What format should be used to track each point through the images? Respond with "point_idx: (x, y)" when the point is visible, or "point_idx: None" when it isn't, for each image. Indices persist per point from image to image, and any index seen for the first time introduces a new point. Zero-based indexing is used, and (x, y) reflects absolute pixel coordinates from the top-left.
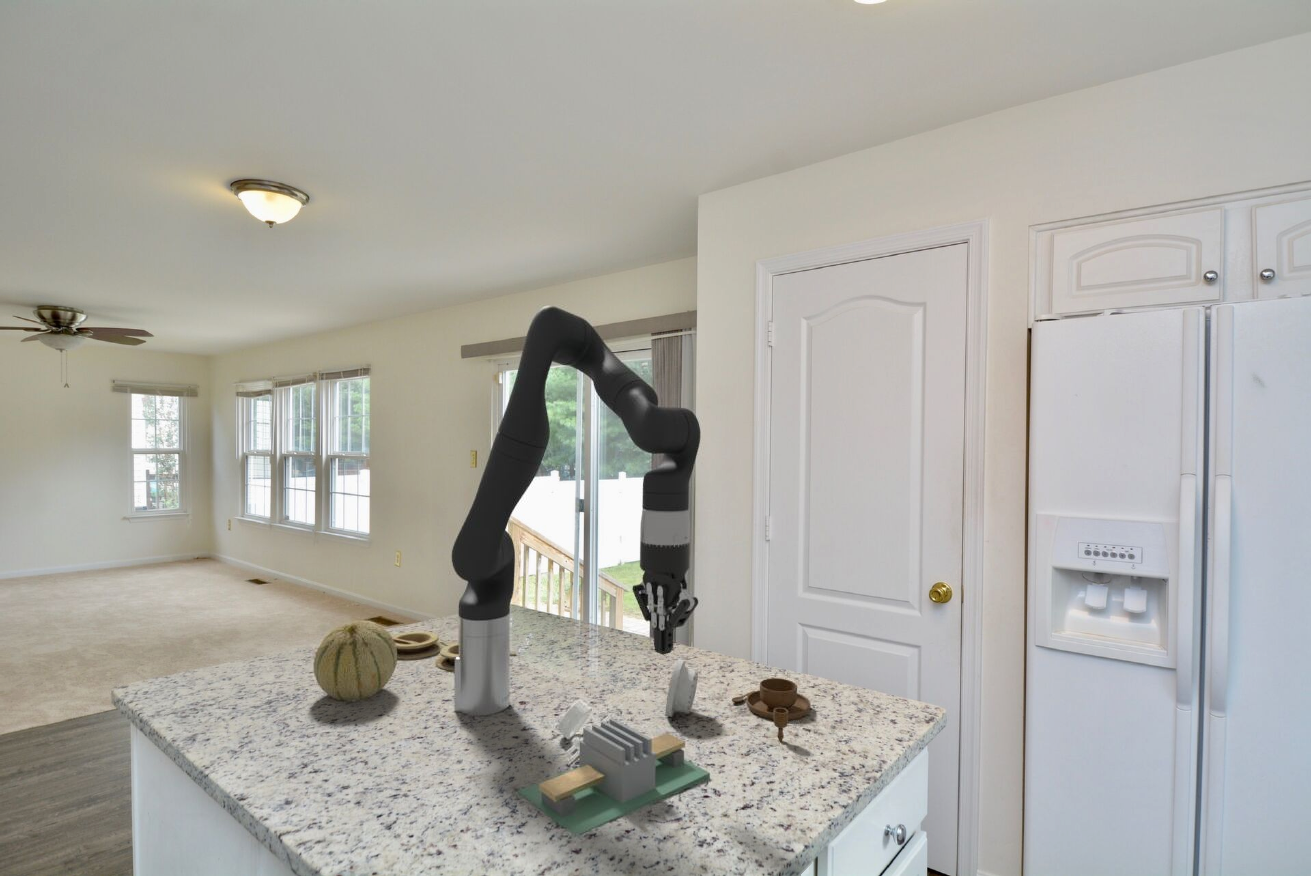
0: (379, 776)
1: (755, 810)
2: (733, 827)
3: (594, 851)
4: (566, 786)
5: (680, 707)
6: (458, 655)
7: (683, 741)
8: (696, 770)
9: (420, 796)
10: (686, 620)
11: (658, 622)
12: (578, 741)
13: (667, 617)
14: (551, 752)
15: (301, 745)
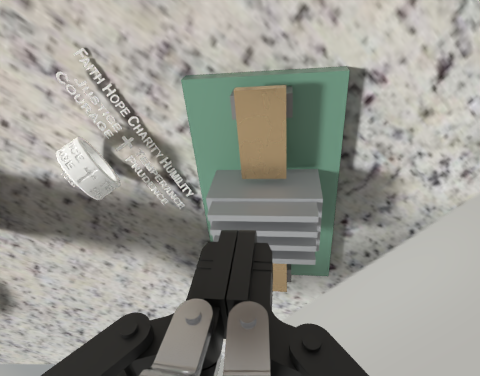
0: (109, 311)
1: (464, 64)
2: (455, 126)
3: (345, 259)
4: (277, 277)
5: None
6: None
7: (282, 89)
8: (325, 84)
9: (161, 305)
10: (359, 366)
11: (217, 361)
12: (140, 176)
13: (206, 341)
14: (128, 190)
15: (27, 326)
